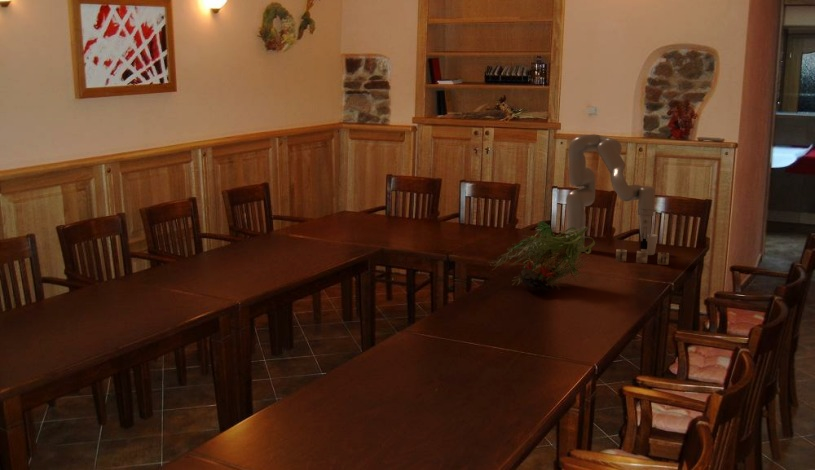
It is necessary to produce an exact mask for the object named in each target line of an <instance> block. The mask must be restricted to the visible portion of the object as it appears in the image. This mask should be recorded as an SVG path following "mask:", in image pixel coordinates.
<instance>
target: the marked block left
mask: <svg viewBox="0 0 815 470" xmlns="http://www.w3.org/2000/svg"><path fill="white" fill-rule="evenodd" d="M627 251H628V250H627V249H620V248H619V249H618V248H616V252H615V262H624V261H625V262H627V254H628V253H627Z"/></svg>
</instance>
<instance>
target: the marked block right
mask: <svg viewBox="0 0 815 470" xmlns="http://www.w3.org/2000/svg"><path fill="white" fill-rule="evenodd" d="M669 260H670V253H669V252H660V251H659V252H658V251H657V260H656V261H657V265H664V266H667V265H669V262H670V261H669Z"/></svg>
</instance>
